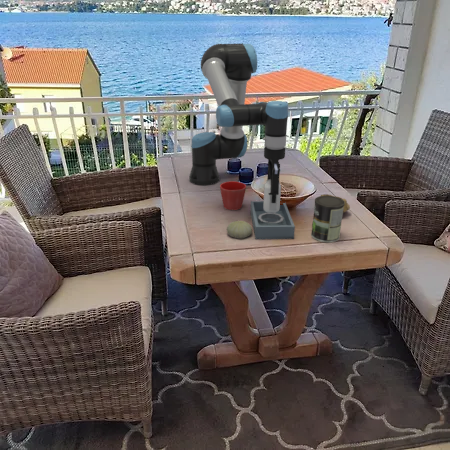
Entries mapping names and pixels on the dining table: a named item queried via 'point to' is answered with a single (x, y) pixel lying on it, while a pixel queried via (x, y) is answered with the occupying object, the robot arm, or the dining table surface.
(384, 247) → the dining table surface
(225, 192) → the flower pot
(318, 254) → the dining table surface
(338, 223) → the coffee can
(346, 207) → the oil lamp
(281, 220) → the inlet ring
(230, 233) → the sea urchin shell
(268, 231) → the walled box
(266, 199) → the beverage can
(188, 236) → the dining table surface
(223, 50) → the robot arm
